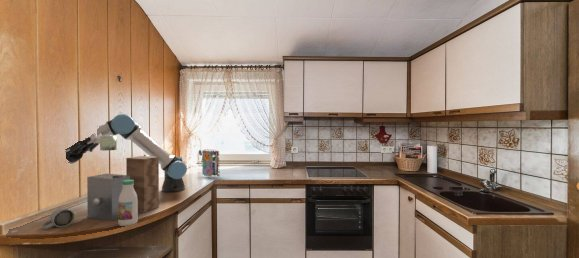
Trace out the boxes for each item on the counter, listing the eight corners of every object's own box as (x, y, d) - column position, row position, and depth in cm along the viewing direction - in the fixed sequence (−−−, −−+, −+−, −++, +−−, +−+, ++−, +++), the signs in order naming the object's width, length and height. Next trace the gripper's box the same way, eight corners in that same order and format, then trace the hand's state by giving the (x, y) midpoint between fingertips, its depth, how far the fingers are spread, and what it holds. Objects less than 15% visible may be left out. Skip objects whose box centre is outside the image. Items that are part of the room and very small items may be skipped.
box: (195, 176, 248) (195, 149, 247) (201, 175, 253) (201, 148, 252) (214, 179, 233) (214, 150, 233) (219, 178, 238) (219, 150, 238)
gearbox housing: (106, 211, 146) (106, 172, 145) (130, 214, 141) (129, 174, 140) (83, 218, 134) (83, 176, 134) (108, 222, 129) (107, 178, 129)
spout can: (94, 148, 150) (94, 135, 150) (119, 149, 144) (119, 136, 144) (80, 149, 143) (80, 135, 143) (106, 150, 137) (106, 136, 137)
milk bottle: (128, 219, 133) (128, 178, 133) (141, 221, 131) (141, 179, 130) (114, 225, 125) (114, 181, 125) (127, 227, 123) (127, 182, 123)
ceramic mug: (69, 220, 131) (68, 204, 131) (74, 224, 126) (74, 207, 126) (39, 227, 123) (39, 210, 123) (44, 232, 118) (44, 214, 118)
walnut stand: (141, 205, 157) (141, 156, 157) (158, 207, 154) (158, 156, 153) (126, 210, 148) (126, 157, 148) (144, 212, 144) (144, 158, 144)
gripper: (88, 160, 157) (114, 141, 151) (57, 164, 143) (85, 142, 136) (83, 149, 159) (109, 129, 152) (53, 151, 144) (80, 129, 137)
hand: (98, 135), depth 144 cm, fingers closed on spout can, 2 cm apart
